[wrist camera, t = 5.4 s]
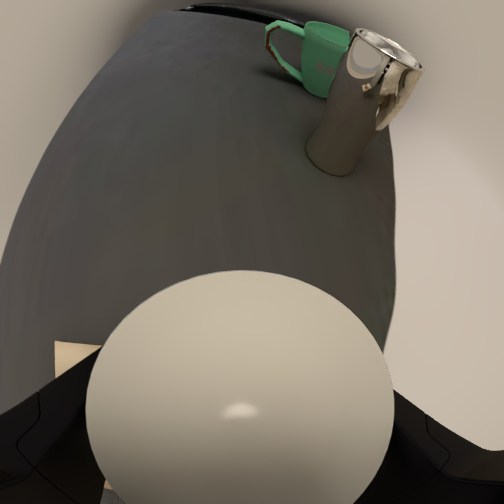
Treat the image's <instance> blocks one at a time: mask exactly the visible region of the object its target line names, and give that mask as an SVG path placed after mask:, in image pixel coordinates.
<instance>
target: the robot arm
mask: <svg viewBox="0 0 504 504" xmlns="http://www.w3.org/2000/svg"><path fill="white" fill-rule="evenodd" d="M103 346H104V345H103ZM103 346H101V347H100V348H98V349H97V350H96V351H94V352H93V353H91V354H90V355H88V356H87V357H85V358H84V359H83V360H81V361H80V362H78V363H77V364H75V365H74V366H73V367H71V368H70V369H68V370H67V371H65V372H64V373H63V374H61V375H60V376H58V377H57V378H55V379H54V380H53V381H51V382H50V383H48V384H47V385H45V386H44V387H43V388H41V389H40V390H39V392H38V391H37V392H35V393H34V394H33V395H31V396H30V397H28V398H27V399H25V400H24V401H22V402H21V403H19V404H18V405H16V406H15V407H13V408H11V409H9V410H8V411H6V412H4V413H2V414H1V415H0V504H100V502H101V497H102V493H103V489H104V485H105V481H106V478H105V477H104V475H103V473H102V472H101V470H100V468H99V466H98V464H97V461H96V459H95V456H94V454H93V451H92V448H91V445H90V440H89V436H88V431H87V424H86V409H85V408H86V397H87V388H88V384H89V380H90V376H91V372H92V369H93V366H94V364H95V362H96V359H97V357H98V355H99V352H100V350H101V349H102V347H103ZM393 394H394V421H393V428H392V434H391V438H390V442H389V445H388V449H387V451H386V454H385V456H384V459H383V461H382V463H381V466H380V467H379V469H378V471H377V473H376V475H375V476H374V478H373V480H372V481H371V482H370V484H369V485H368V487H367V488H366V489H365V491H364V492H363V493H362V494H361V495H360V497H359V498H358V499H357V500H356V501H355V502H354V503H353V504H504V450H501V451H490V450H486V449H483V448H481V447H479V446H477V445H475V444H473V443H471V442H470V441H468V440H466V439H464V438H462V437H461V436H459V435H457V434H456V433H454V432H452V431H451V430H449V429H448V428H446V427H444V426H443V425H441V424H440V423H439V422H437V421H435V420H434V419H433V418H431V417H430V416H429V415H427V414H425V413H424V412H423V411H422V410H420V409H419V408H418V407H416V406H415V405H414V404H412V403H411V402H410V401H408V400H407V399H405V398H404V397H403V396H402V395H400V394H399V393H398V392H396V391H395V390H394V389H393Z"/></svg>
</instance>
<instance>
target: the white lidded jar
mask: <svg viewBox="0 0 504 504" xmlns="http://www.w3.org/2000/svg"><path fill="white" fill-rule="evenodd" d="M85 409H86V424H87V431H88V436H89V440H90V445H91V448H92V451H93V454H94V456H95V459H96V461H97V464H98V466H99V468H100V470H101V472H102V473H103V475H104V477H105V478H106V480H107V482H108V483H109V485H110V486H111V487H112V489H113V490H114V491H115V493H116V494H117V495H118V496H119V497H120V499H121V500H122V501H123V502H124V503H125V504H353V503H354V502H355V501H356V500H357V499H358V498H359V497H360V495H361V494H362V493H363V492H364V491H365V489H366V488H367V487H368V485H369V484H370V482H371V481H372V480H373V478H374V476H375V475H376V473H377V471H378V469H379V467H380V466H381V463H382V461H383V459H384V456H385V454H386V451H387V449H388V445H389V442H390V438H391V434H392V428H393V421H394V394H393V387H392V381H391V377H390V373H389V370H388V367H387V364H386V361H385V359H384V357H383V354H382V352H381V350H380V348H379V346H378V345H377V343H376V341H375V339H374V338H373V336H372V335H371V333H370V332H369V331H368V329H367V328H366V327H365V326H364V324H363V323H362V322H361V321H360V320H359V319H358V318H357V317H356V316H355V315H354V314H353V313H352V312H351V311H350V310H349V309H348V308H347V307H345V306H344V305H343V304H342V303H340V302H339V301H338V300H336V299H335V298H334V297H332V296H330V295H329V294H327V293H325V292H323V291H322V290H320V289H318V288H317V287H314V286H312V285H310V284H307V283H305V282H303V281H300V280H298V279H294V278H291V277H287V276H284V275H280V274H275V273H269V272H262V271H246V270H235V271H223V272H215V273H210V274H205V275H200V276H196V277H193V278H190V279H187V280H184V281H181V282H178V283H176V284H174V285H172V286H170V287H168V288H166V289H164V290H162V291H159V292H157V293H156V294H154V295H153V296H151V297H150V298H148V299H147V300H145V301H144V302H142V303H141V304H140V305H138V306H137V307H136V308H135V309H134V310H133V311H132V312H130V313H129V314H128V315H127V316H126V317H125V318H124V319H123V320H122V321H121V322H120V324H119V325H118V326H117V327H116V328H115V329H114V331H113V332H112V333H111V334H110V336H109V338H108V339H107V341H106V342H105V344H104V346H103V347H102V349H101V350H100V352H99V355H98V357H97V359H96V362H95V364H94V366H93V369H92V372H91V376H90V380H89V384H88V388H87V397H86V408H85Z"/></svg>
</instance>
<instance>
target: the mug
mask: <svg viewBox="0 0 504 504" xmlns="http://www.w3.org/2000/svg"><path fill="white" fill-rule="evenodd" d="M275 30H282V31H287V32H289V33H291V34H293V35H295V36H297V37H299V38H301V39H303V49H302V56H301V60H302V73H301V72H300V71H298V70H297V69H295V68H294V67H292V66H291V65H289V64H288V63H286V62H285V61H283V60H282V58H281V56H280V55H279V53H278V52H277V50H276V49H275V47H274V46H273V44H272V43H271V38H272V34H273V32H274V31H275ZM349 38H350V32H348V31H346V30H344V29H341V28H339V27H336V26H333V25H329V24H326V23H321V22H307V23H306V24H305V27H304V29H302V28H300V27H298V26H295V25H293V24H291V23H287V22H283V21H279V20H277V21H275V22H273V23H271V24H269V25H267V26H266V27H265V45H264V48H265V49H266V50H267V52H268V53H269V54H270V55H271V57H272V58H273V59H274V61H275V62H276V63H277V65H278V66H279V68H280V69H282V70H283V71H285V72H286V73H288V74H289V75H291V76H292V77H294V78H295V79H297V80H298V81H300V82H301V83H303V86H304V88H305V89H306V90H307V91H309V92H310V93H312V94H313V95H316V96H318V97H322V98H327V96H328V92H329V87H330V84H331V80H332V77H333V74H334V71H335V69H336V66H337V64H338V62H339V60H340V58H341V56H342V54H343V52H344V50H345V48H346V46H347V45H348V43H349Z"/></svg>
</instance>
